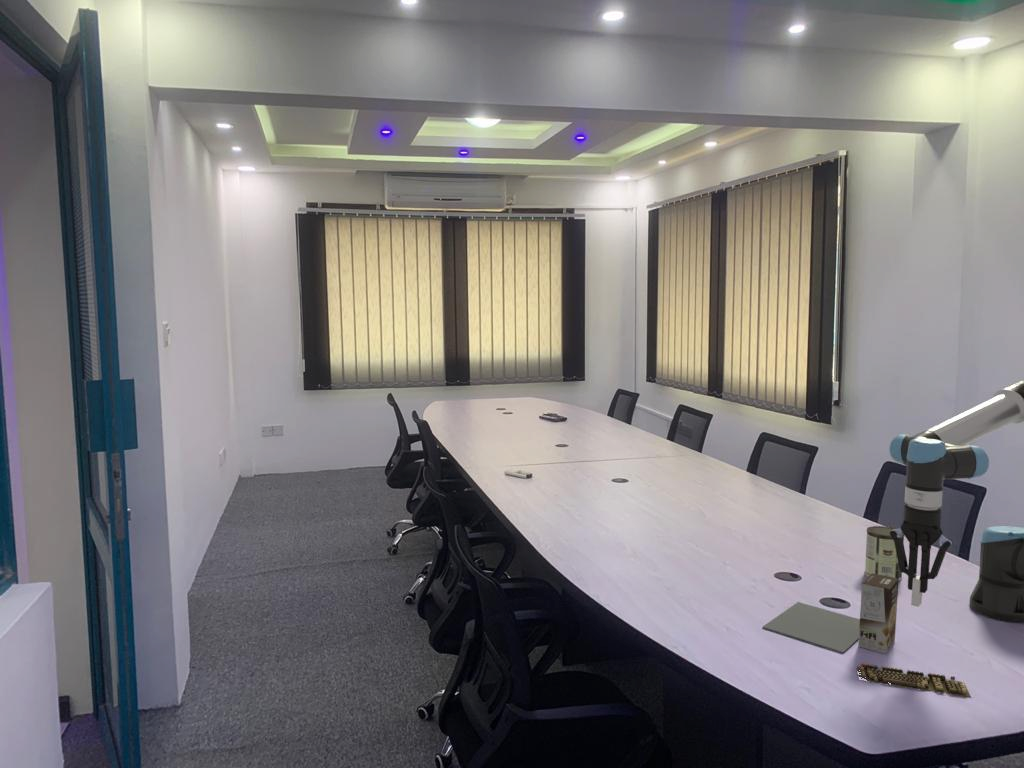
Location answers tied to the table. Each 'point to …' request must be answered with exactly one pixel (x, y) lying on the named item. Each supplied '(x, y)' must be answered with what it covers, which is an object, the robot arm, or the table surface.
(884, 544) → the coffee can
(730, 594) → the table surface
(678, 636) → the table surface
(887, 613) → the coffee box
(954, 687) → the keyboard
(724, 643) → the table surface
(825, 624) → the topple mat
